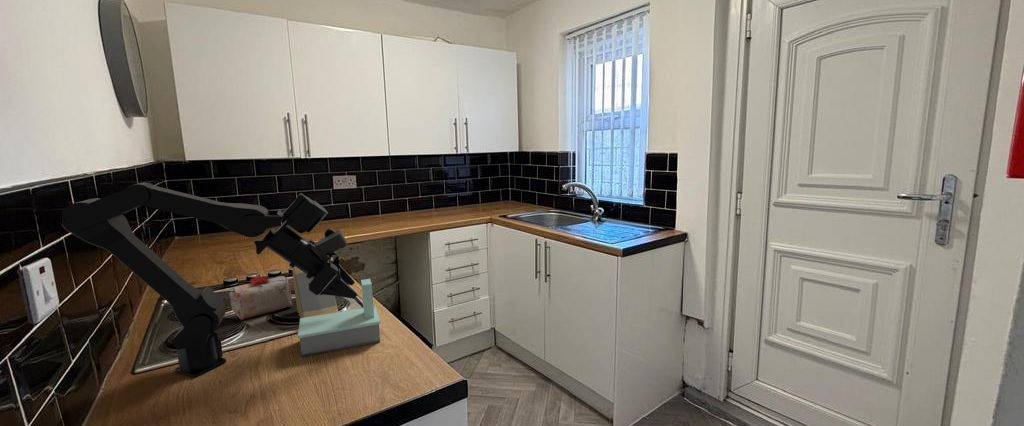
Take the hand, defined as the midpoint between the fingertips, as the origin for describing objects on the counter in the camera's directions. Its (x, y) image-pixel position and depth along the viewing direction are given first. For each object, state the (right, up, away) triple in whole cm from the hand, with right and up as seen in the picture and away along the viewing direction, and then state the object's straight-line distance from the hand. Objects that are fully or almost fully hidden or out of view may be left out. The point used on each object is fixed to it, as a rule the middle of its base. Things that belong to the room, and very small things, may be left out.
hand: (354, 289), depth 97 cm
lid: (-3, -8, 0) cm, 9 cm away
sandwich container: (-15, -10, +14) cm, 22 cm away
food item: (-31, -9, +18) cm, 37 cm away
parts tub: (-3, -12, +1) cm, 12 cm away
